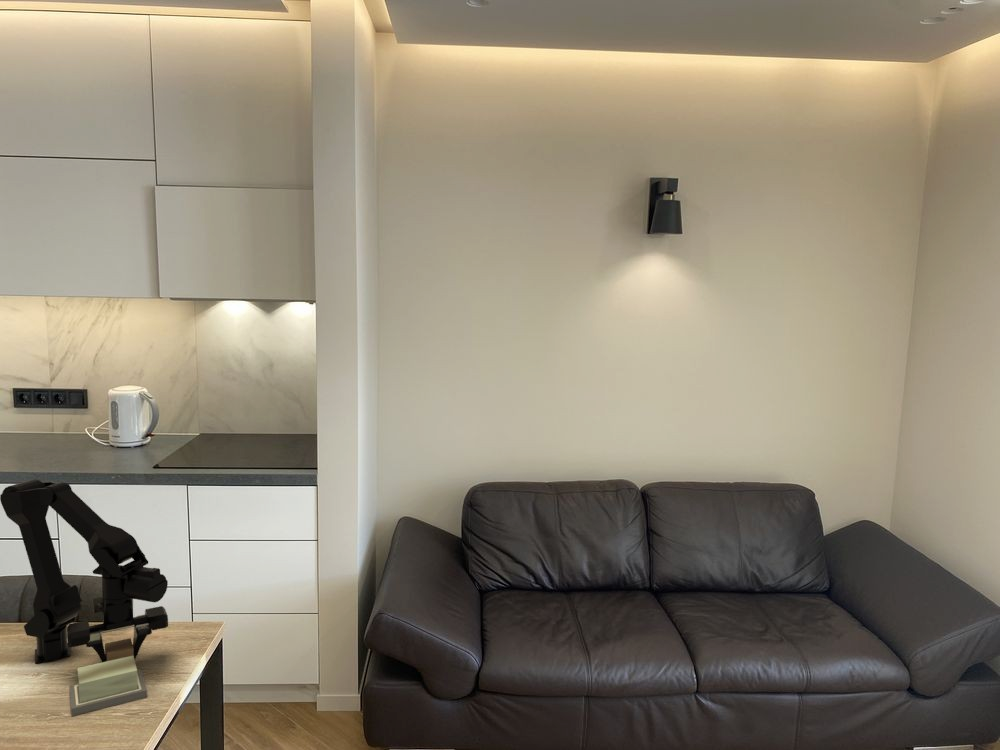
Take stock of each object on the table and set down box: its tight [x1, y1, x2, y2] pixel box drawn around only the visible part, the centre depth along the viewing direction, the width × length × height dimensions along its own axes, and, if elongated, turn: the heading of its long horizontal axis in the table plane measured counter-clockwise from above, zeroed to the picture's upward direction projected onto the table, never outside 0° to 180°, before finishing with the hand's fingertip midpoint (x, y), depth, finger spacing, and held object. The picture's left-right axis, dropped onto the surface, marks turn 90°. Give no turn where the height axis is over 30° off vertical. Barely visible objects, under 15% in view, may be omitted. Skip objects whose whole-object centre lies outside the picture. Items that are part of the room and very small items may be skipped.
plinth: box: [68, 668, 148, 717], centre depth 143 cm, size 9×13×2 cm
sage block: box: [77, 656, 138, 703], centre depth 143 cm, size 6×10×4 cm, turn 123°
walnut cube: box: [104, 637, 134, 661], centre depth 153 cm, size 5×5×5 cm
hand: (119, 663), depth 153 cm, fingers closed on walnut cube, 5 cm apart
